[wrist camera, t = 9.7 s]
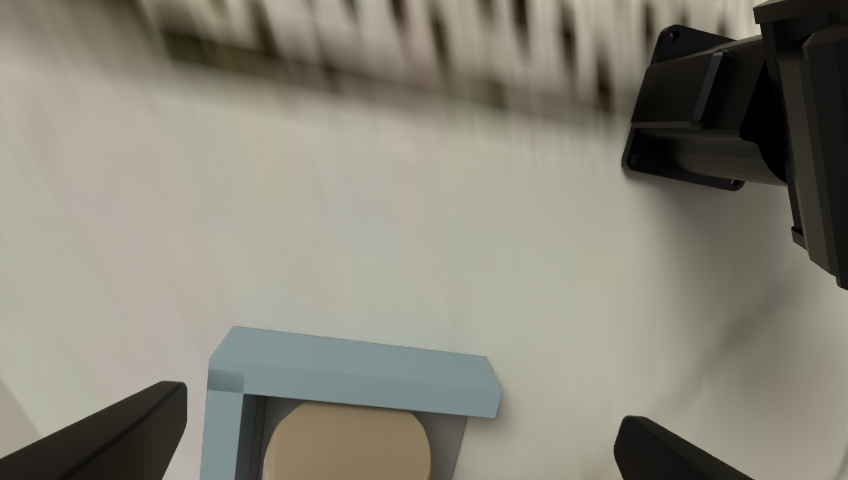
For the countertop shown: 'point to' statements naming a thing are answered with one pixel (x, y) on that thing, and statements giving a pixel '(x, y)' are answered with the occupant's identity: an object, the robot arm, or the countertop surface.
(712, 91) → the robot arm
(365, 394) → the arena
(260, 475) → the mat
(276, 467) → the mug
